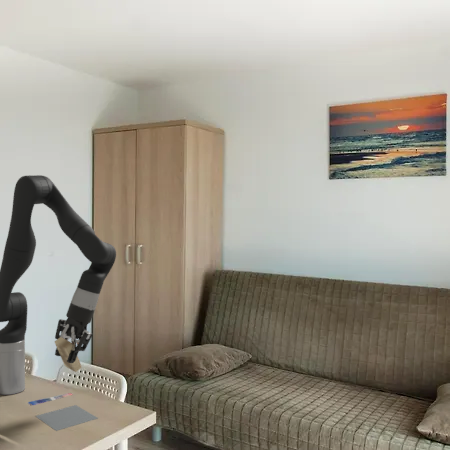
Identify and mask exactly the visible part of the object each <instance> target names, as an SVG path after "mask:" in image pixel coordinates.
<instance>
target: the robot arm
mask: <svg viewBox="0 0 450 450" xmlns="http://www.w3.org/2000/svg"><path fill="white" fill-rule="evenodd" d="M12 199H13V200H12V210H11V218H10V222H9V228H8V231H7V232H8V234H7V236H6V240H5V245H4V250H3V256H2V260H1V264H0V265H1V266H0V323H5V322H7V324H5V326H4V327H3V328H2V329H0V395H6V396H9V395H14V394H15V395H16V394H19V393H21V392H23V391H25V389H26V356H25V355H26V348H25V347H26V343H25V341H26V340H25V336H26V332H27V330H28V329H27V328H28V327H27V325H28V302H27V301H28V300H27V298H26V296H25V294H23V293H22V292H20V291H19V292H18V291H17V292H13V289H14V287H15V286H16V284H17V283H18V281H19V279H20V278H22V277H23V275H24V274H25V272H26V271H27V270H28V269H29V267H30V266H31V264H32V263H33V259H34V255H35V250H36V247H37V239H36V236H35V235H36V234H35V232H34V230H33V227H32V214H33V211H34V210H33V209H34V207H35V205H41V204H42V205H44V206H45V207H48V209H50V210H51V211H53V213H54V215H55V217H56V218H57V222H58V226H59V228H60V229H61V231H62V232H63V233H64V234H65V235H66V236H67V238H69V240H71V241H72V242H73V244H75V245H76V246H77V248H78V249H79V250H80V253H82V255H83V256H84V257H85V258H86V259H87V260H88V261H89V262H91V263H90V266H89V268H88V269H85V270H83V272H82V273H81V275H80V278H79V281H78V284H77V285H76V289H75V291H74V293H73V295H72V298H71V300H70V303H69V306H68V309H67V312H66V315H65V316H66V318H67V319H62V318H61V319H58V320H57V321H58V323H57V327H56V330H55V336H54V339H55V340H57V339H58V338H60V337H62V338H64V339H66V340H67V341H69V340H70V342H71V343H72V350H71V352H70V354H69V357H68V360H67V362H68V363H74V362H75V360H76V357H77V356H78V354H79V352H85V351H86V349H87V347H88V346H89V343H90V341H91V338H92V337H93V333H92V332H89V330H88V324H90V323H91V322H92V320H93V317H94V313H95V311H96V307H97V305H98V301H99V298H100V294H101V291H102V289H103V286H104V282H105V280H106V278H107V277H108V275H109V273H110V272H111V270H112V268H113V266H114V265H115V262H116V258H117V251H116V248H115V247H114V245H112V244H111V243H109V242H104V241H103V240H102V239H100V238H99V237H98V236H97V234H96V232H95V230H94V228H92V226H91V225H89V223H87V222H86V221H85V220H84V219H83V218H82V217H81V216H80V215H79V214H78V213H77V212H76V211H75V210H74V209H73V207H72V206H71V205H70V203H69V202H68V200H66V198H65V197H64V195H63V194H62V193H61V192H60V190H59V188H58V187H57V186H56V184H55V183H54V182H53V181H52V180H51V179H50V178H49V177H48V176H45V175H40V174H39V175H38V174H37V175H23V176H21V177H20V178H18V180H17V182H16V183H15V187H14V191H13V198H12ZM54 355H55V356H57V357H61V356H60V353H59V351H58V349H57V347H56V348H55V352H54Z"/></svg>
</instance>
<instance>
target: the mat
mask: <svg viewBox="0 0 450 450" xmlns="http://www.w3.org/2000/svg"><path fill="white" fill-rule="evenodd" d="M35 417H36V418H37V419H39V420H40V421H41V422H42V423H43V424H45V425H47V426H49V427H50V428H51V429H52V430H54V431H56V432H57V431H61V430H65V429H67V428H71V427H74V426H77V425H80V424H83V423H88V422H91V421H94V420H98V419H99V417H97V416H96V415H93V414H92V413H90V412H88V411H87V410H85V409H84V408H81V407H80V406H78V405H77V404H74V405H71V406H67V407H66V406H65V407H64V408H61V409H59V408H58V409H57V410H56V409H55V410H53V411H48V412H44V413H41V414H38V415H35Z"/></svg>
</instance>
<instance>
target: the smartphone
mask: <svg viewBox="0 0 450 450" xmlns="http://www.w3.org/2000/svg"><path fill="white" fill-rule="evenodd" d="M73 395H74V393H71V392H68V393H64V394H58V395H55V396H49V397H45V398H40V399H37V400H31V401H28V402H27V404H28V405H29V407H32V406H36V405H39V404H43V403H47V402H51V401H55V400H59V399H62V398H66V397H70V396H73Z"/></svg>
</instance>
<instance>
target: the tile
mask: <svg viewBox="0 0 450 450" xmlns="http://www.w3.org/2000/svg"><path fill="white" fill-rule="evenodd" d="M54 344H55V346H56V348H57V349H58V351H59V353H60V356H59V357H60V358H61V361H62V362H63V364H64V367H66V368H68V369H69V370H71V371H73V372H74V373H77V372H79V370H80V369H82V368H83V367H82V364H81V362H80V358H79V357H78V355H77V357H76V360H75V362H74V363H68V362H67V360H68V357H69V354H70V352H71V350H72V342H71V341H69V340H68V341H67V340H66V339H65V338H62V337H60V338H58V339H55V340H54Z"/></svg>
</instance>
